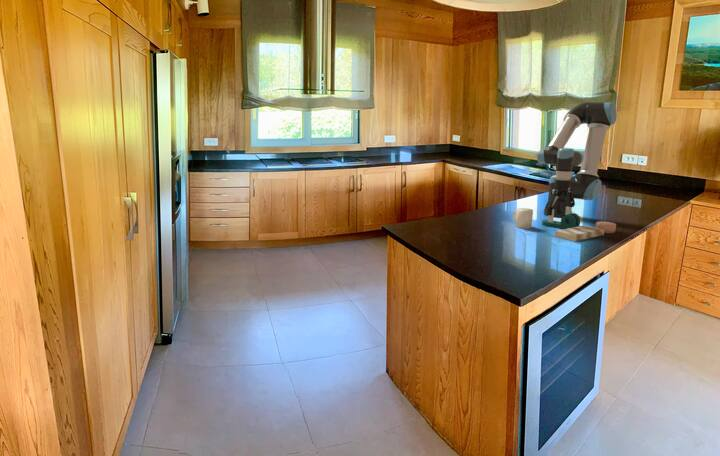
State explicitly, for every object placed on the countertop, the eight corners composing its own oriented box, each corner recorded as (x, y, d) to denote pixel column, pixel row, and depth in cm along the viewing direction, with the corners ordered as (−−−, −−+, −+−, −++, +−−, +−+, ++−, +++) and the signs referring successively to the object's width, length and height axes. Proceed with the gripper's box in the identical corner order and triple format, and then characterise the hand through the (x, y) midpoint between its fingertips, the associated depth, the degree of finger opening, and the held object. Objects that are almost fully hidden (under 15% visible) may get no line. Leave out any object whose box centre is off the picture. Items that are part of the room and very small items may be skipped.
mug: (518, 223, 267) (519, 206, 265) (534, 227, 258) (536, 210, 256) (508, 225, 263) (509, 208, 261) (524, 229, 254) (525, 211, 252)
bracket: (579, 229, 254) (580, 214, 253) (573, 231, 250) (574, 216, 248) (545, 223, 267) (547, 209, 266) (539, 225, 263) (540, 210, 261)
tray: (583, 230, 251) (584, 224, 250) (603, 234, 242) (604, 229, 241) (554, 236, 240) (555, 230, 239) (574, 241, 231) (575, 235, 230)
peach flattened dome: (602, 228, 256) (603, 220, 255) (618, 232, 248) (619, 224, 247) (591, 230, 251) (592, 222, 250) (608, 234, 244) (609, 226, 243)
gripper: (572, 177, 262) (568, 216, 267) (540, 179, 250) (536, 221, 254) (585, 178, 256) (580, 219, 261) (553, 181, 243) (549, 224, 248)
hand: (559, 220), depth 258 cm, fingers open, 13 cm apart
